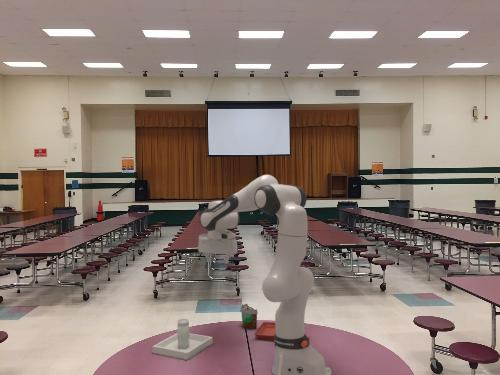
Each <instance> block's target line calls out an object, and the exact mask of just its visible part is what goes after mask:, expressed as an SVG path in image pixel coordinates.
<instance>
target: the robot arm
mask: <svg viewBox="0 0 500 375" xmlns="http://www.w3.org/2000/svg"><path fill="white" fill-rule="evenodd" d="M306 205H307V194H306V192H305V190H304V189H303V188H302V187H301V186H298V185H294V184H293V185H292V184H282V183H281V184H280V183H279V182H278V180H277V179H276V177H274V176H273V175H270V174H263V175H261V176H259V177H256V178H255V179H254V180H251V182H249V184H247V185H246V186H245V187H243V188H242V189H241V190H239V191H237V192H235V193H233V194H231V195H230V196H229V197H227V198H225V199H224V200H222V199H221V200H220V199H218V200H217V199H216V200H212V201H209V202H208V207H207V208H204V211H202V213H201V215H200V219H199V220H200V225H201V226H202V228H203V229H205V230H206V231H207V233H201V234H199V235H198V245H197V246H198V247H197V251H198V252H199V253H203V254H204V257H205V259H206V262H207V263H211V262H212V258H211V256H210V254H215V255H225V259H224V260H223V264H225V265H227V264H229V260H230V258H231V256H234V255H237V253H238V241H237V239H236V236H237V234H236V233H235V232H232V231H230V230H229V229H234V228H236V227H237V226H238V225H239V224H240V223H239V222H240V215H239V214H240V213H241V212H250V211H251V212H253V211H256V210H259V211H261V212H263V213H265V214H267V215H268V216H270V217H274V216H275V215H276V216H277V218H278V231H277V241H276V242H277V243H276V253H275V256H274V260H273V263H272V266H271V268H270V270H269V272H268V274H267V276H265V279H264V280H263V282H262V285H261V286H262V287H261V290H262V293H263V295H264V297H265V298H266V300H268V301H269V302H271V303H279V307H278V308H277V310H276V312H275V316H274V317H275V318H274V323H275V332H276V333H275V334H274V340H273V342H274V348H275V349H274V358H273V363H272V368H271V373H272V374H273V375H332V374H331V373H332V370H331V368H330V367H328V366H326V362H325V358H324V356H323V354H321V353H320V352H319V351H317V349H315V348H314V347H313V346H312V345H311V344H310V340H311V335H309V336H307V335H306V333H305V313H306V308H307V307H306V306H307V303H308V299H309V296H310V292H311V291H312V289H313V287H314V285H315V277H314V276H315V275H314V274H313V272H312V271H311V269H309V268H308V267H306V266H301V264H302V262H303V260H304V259H305V257H306V254H307V244H308V224H309V222H308V214H307V210H306V208H305V206H306ZM227 229H228V230H227Z"/></svg>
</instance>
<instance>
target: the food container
mask: <svg viewBox="0 0 500 375" xmlns="http://www.w3.org/2000/svg"><path fill="white" fill-rule="evenodd" d="M239 312H240V313H241V321H242V322H241V323H242V328H243V329H245V330H257V329H258V328H257V326H258V309H254V308H253V306H252V307H251V306H249V304H248V303H245V304H242V305H241V306H240V310H239Z"/></svg>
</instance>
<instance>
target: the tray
mask: <svg viewBox="0 0 500 375" xmlns="http://www.w3.org/2000/svg"><path fill="white" fill-rule="evenodd" d="M212 345H214V338H213V336H210V335H203V334H196V333H190V332H189V348H187V349H179V348H178V332H176V333H175V334H173V335H170V336H169V337H167V338H165V339H163V340H161V341H159V342H158V343H156V344H154V345H153V346H151V347H152V348H151V350H152V354H155V355H160V356H165V357H168V358H174V359H179V360H184V361H189V360H190V359H192V358H194V357H195V356H196V355H198V354H200V353H201V352H203V351H204V350H205V349H207V348H208V347H210V346H212Z"/></svg>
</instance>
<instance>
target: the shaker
mask: <svg viewBox="0 0 500 375" xmlns="http://www.w3.org/2000/svg"><path fill="white" fill-rule="evenodd" d="M176 327H177V333H178V348H179V349H187V348H189V333H190V323H189V318H188V319H187V318H181V319H178V320H177V326H176Z"/></svg>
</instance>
